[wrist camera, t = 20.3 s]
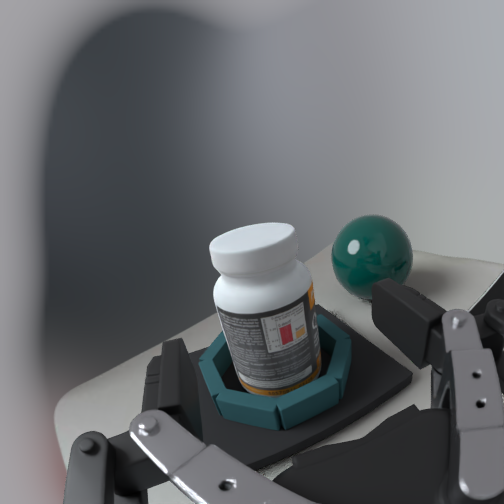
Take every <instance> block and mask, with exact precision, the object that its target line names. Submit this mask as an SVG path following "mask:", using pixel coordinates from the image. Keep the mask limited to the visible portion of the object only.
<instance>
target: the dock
mask: <svg viewBox="0 0 504 504" xmlns="http://www.w3.org/2000/svg"><path fill="white" fill-rule="evenodd" d="M315 308H316V316H317V324H318V333H319V341H320V352H321V371H320V374H319V376H318V378H317V379H316V380H314V381H312V382H310V383H308V384H306V385H304V386H302V387H300V388H298V389H295V390H293V391H291V392H289V393H287V394H285V395H282V396H280V397H278V398H273V397H267V396H261V395H255V394H251V393H249V392H248V391H247V390H246V389H244V387H243V386H242V384H241V382H240V380H239V378H238V375H237V373H236V369H235V366H234V363H233V360H232V356H231V353H230V350H229V347H228V344H227V341H226V338H225V335H224V332H223V331H222V332H221V333H220V334H219V335H218V337H217V338H216V339H215V340H214V342H213V343H212V344H211V345H210V346H209V347H206V348H204V349H201V350H198V351H195V352H192V353H189V356H190V359H191V361H192V364H193V366H194V369H195V372H196V376H197V380H198V391H199V402H200V412H201V422H202V432H203V440H204V444H206V445H208V444H209V443H211V444H214V445H215V446H217V447H219V448H220V449H222V450H223V451H224V452H226V453H227V454H229V455H230V456H232V457H233V458H235V459H237V460H238V461H240V462H241V463H243V464H244V465H246V466H248V467H249V468H251V469H252V470H254V471H255V470H257V469H260V468H262V467H265V466H267V465H270V464H272V463H274V462H277V461H279V460H281V459H284V458H286V457H288V456H290V455H292V454H294V453H297V452H299V451H301V450H303V449H305V448H307V447H309V446H311V445H313V444H315V443H317V442H319V441H321V440H322V439H324V438H326V437H328V436H330V435H332V434H334V433H335V432H337V431H339V430H341V429H342V428H344V427H346V426H347V425H349V424H351V423H353V422H354V421H356V420H357V419H359V418H361V417H362V416H364V415H365V414H367V413H369V412H370V411H372V410H373V409H375V408H376V407H378V406H379V405H381V404H382V403H384V402H385V401H387V400H388V399H389V398H391V397H392V396H394V395H395V394H397V393H398V392H399V391H401V390H402V389H403V388H405V387H406V386H407V385H409V384H410V383H411V380H412V375H413V373H412V372H411V371H409V370H408V369H407V368H405V367H404V366H403V365H401V364H400V363H398V362H397V361H396V360H394V359H393V358H391V357H390V356H389V355H387V354H386V353H385V352H383V351H382V350H380V349H379V348H378V347H376V346H375V345H374V344H372V343H371V342H369V341H368V340H367V339H365V338H364V337H363V336H361V335H360V334H358V333H357V332H356V331H354V330H353V329H352V328H350V327H349V326H347V325H346V324H345V323H343V322H342V321H341V320H339V319H338V318H336V317H335V316H334V315H332V314H331V313H330V312H328V311H327V310H325V309H324V308H323V307H321V306H320V305H319V304H317V305H315Z"/></svg>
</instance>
